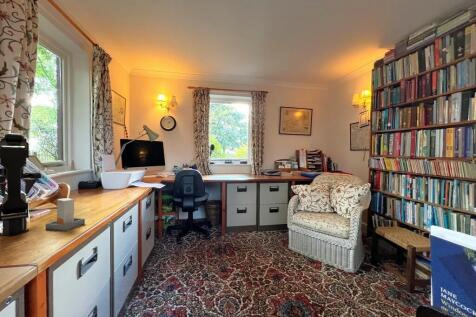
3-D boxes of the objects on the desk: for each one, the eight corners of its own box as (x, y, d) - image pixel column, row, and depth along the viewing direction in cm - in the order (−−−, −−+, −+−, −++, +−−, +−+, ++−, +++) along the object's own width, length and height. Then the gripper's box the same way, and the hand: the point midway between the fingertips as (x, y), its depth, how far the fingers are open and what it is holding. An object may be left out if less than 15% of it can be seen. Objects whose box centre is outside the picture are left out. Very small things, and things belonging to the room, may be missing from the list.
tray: (66, 231, 96) (66, 225, 96) (45, 229, 98) (45, 223, 98) (84, 223, 106) (84, 218, 106) (65, 222, 108) (66, 217, 108)
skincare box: (56, 225, 101) (56, 199, 101) (67, 222, 105) (67, 197, 105) (63, 227, 99) (63, 200, 98) (74, 225, 102) (74, 199, 102)
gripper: (25, 160, 113) (25, 190, 114) (-26, 162, 94) (-26, 198, 95) (42, 161, 110) (42, 192, 111) (-7, 164, 92) (-7, 201, 93)
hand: (15, 196), depth 103 cm, fingers open, 9 cm apart
